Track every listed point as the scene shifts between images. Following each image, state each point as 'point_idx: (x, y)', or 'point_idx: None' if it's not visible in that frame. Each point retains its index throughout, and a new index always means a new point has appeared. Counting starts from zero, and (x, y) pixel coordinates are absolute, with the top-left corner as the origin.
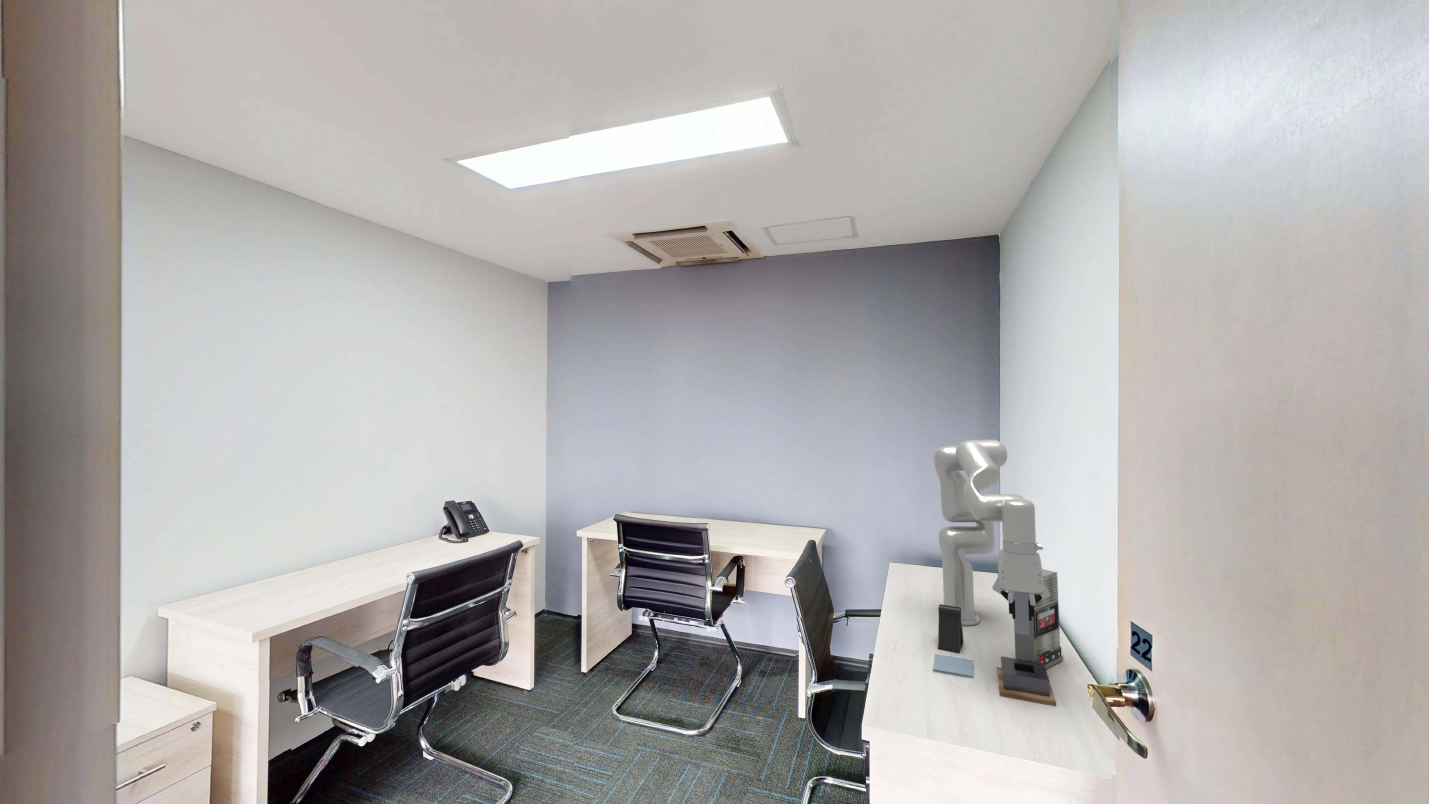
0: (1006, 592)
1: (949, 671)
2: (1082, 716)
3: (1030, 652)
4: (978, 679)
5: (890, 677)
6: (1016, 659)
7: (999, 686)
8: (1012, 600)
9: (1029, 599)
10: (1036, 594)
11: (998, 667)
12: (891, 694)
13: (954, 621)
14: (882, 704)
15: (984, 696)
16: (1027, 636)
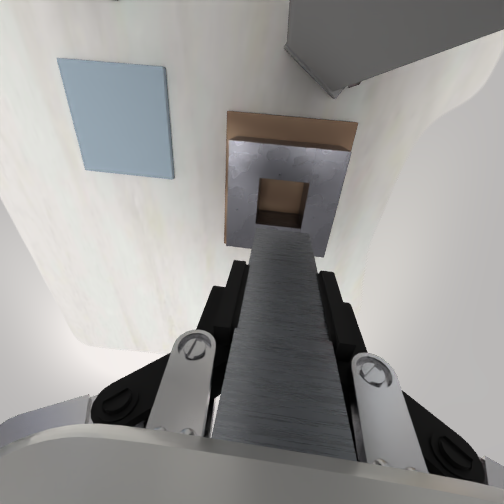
0: (150, 410)
1: (120, 170)
2: (357, 272)
3: (332, 79)
4: (185, 179)
5: (30, 221)
6: (271, 152)
7: (225, 221)
8: (211, 403)
9: (347, 392)
10: (432, 473)
11: (230, 113)
12: (61, 276)
13: None
14: (63, 303)
15: (198, 247)
16: (337, 60)
